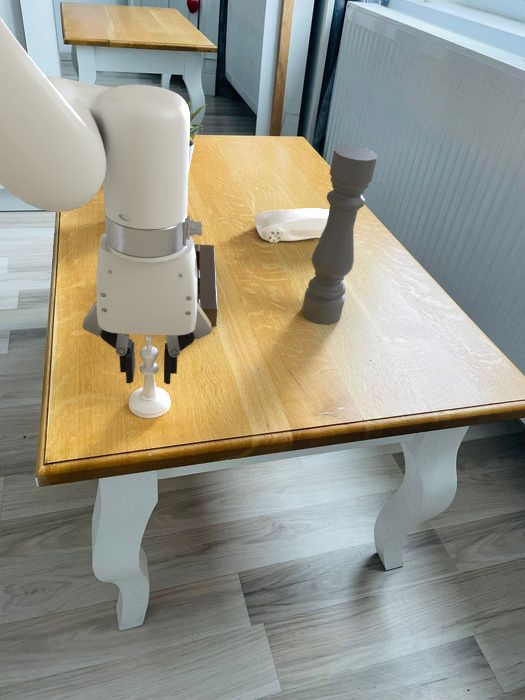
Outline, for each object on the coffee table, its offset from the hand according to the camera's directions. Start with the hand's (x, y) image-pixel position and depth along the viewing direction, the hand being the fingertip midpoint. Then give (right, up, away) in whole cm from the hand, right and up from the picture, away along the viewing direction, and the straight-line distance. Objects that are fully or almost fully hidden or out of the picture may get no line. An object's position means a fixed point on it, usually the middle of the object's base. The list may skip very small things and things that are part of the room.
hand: (149, 374), depth 64 cm
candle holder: (+22, +8, +23) cm, 33 cm away
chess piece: (-1, -4, +3) cm, 5 cm away
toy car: (+21, +25, +44) cm, 55 cm away
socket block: (0, +12, +24) cm, 27 cm away
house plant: (-8, +44, +63) cm, 77 cm away
